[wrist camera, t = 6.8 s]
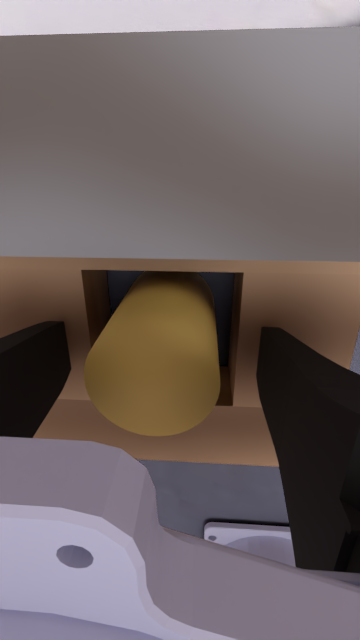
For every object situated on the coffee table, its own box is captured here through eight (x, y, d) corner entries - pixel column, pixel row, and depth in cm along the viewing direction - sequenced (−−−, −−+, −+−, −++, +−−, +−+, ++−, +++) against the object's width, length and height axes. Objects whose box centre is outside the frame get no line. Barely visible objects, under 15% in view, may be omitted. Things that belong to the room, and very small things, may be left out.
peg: (220, 269, 14) (230, 329, 9) (208, 349, 16) (211, 443, 10) (128, 259, 14) (81, 313, 9) (126, 340, 16) (85, 428, 10)
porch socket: (305, 421, 17) (365, 569, 11) (44, 410, 18) (-44, 540, 12) (368, 104, 11) (575, 21, 5) (-20, 110, 12) (-261, 42, 6)
